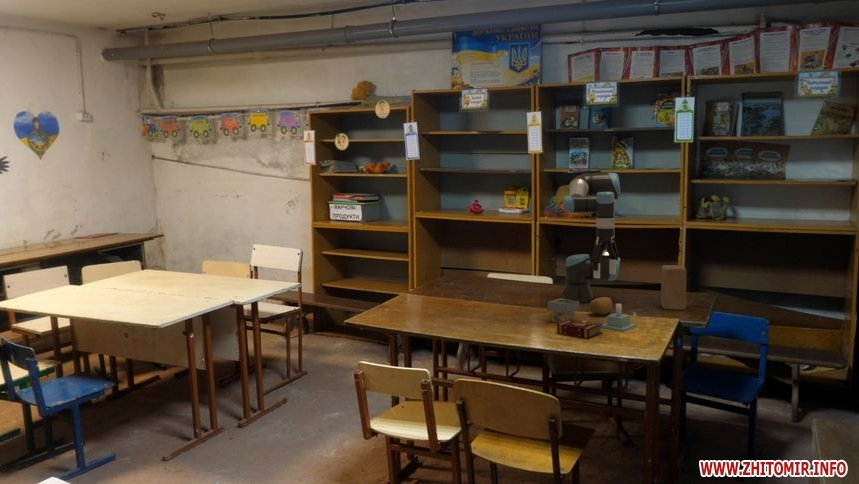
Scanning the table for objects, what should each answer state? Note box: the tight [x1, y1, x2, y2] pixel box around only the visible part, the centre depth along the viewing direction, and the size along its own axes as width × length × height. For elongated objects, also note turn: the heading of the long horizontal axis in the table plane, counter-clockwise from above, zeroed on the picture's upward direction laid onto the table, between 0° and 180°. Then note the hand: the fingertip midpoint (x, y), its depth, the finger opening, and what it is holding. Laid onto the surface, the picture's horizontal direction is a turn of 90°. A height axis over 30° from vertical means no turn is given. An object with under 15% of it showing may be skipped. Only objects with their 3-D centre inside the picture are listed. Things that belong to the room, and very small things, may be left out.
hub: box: [600, 303, 638, 333], centre depth 282 cm, size 11×11×10 cm
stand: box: [551, 301, 575, 323], centre depth 295 cm, size 7×7×9 cm
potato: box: [589, 296, 613, 316], centre depth 306 cm, size 10×14×8 cm
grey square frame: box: [547, 297, 580, 314], centre depth 295 cm, size 10×10×4 cm
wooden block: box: [660, 264, 687, 311], centre depth 315 cm, size 10×10×20 cm
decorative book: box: [556, 318, 603, 339], centre depth 274 cm, size 11×16×5 cm
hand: (604, 276), depth 288 cm, fingers open, 13 cm apart
